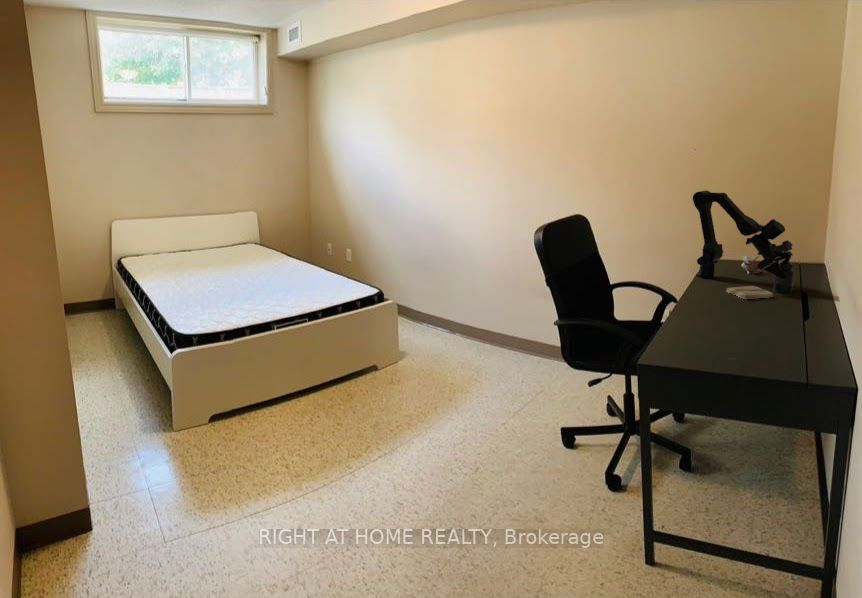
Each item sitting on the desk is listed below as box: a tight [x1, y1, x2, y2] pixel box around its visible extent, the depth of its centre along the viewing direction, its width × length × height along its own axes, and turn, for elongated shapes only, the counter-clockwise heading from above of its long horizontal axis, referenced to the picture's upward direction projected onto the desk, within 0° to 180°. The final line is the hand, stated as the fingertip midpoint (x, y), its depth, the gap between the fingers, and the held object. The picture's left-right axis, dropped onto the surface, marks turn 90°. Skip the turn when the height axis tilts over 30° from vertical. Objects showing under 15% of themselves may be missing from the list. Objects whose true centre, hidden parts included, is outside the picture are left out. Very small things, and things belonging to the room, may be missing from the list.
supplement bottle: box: [772, 262, 796, 294], centre depth 246 cm, size 7×7×12 cm
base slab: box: [726, 285, 774, 301], centre depth 244 cm, size 12×12×2 cm
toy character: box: [741, 255, 766, 275], centre depth 277 cm, size 10×9×12 cm
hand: (788, 276), depth 245 cm, fingers closed on supplement bottle, 7 cm apart
